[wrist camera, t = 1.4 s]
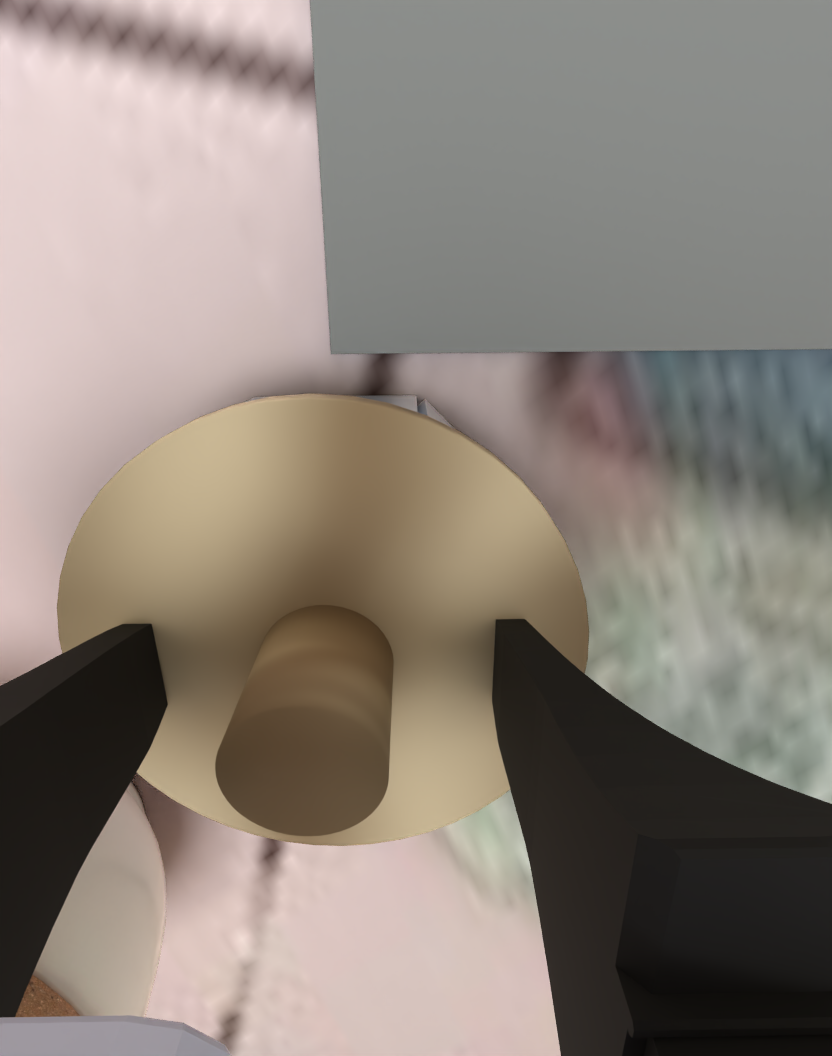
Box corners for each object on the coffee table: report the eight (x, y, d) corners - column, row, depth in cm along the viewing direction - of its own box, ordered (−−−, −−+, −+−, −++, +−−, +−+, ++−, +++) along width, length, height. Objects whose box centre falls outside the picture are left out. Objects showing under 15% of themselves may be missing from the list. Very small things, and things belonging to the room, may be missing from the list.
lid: (611, 390, 10) (705, 438, 7) (557, 821, 15) (600, 977, 11) (8, 396, 10) (-182, 447, 7) (131, 827, 15) (49, 986, 11)
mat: (1032, -432, 9) (1058, -463, 9) (840, 348, 13) (852, 348, 13) (288, -430, 9) (282, -462, 9) (333, 353, 13) (331, 353, 13)
